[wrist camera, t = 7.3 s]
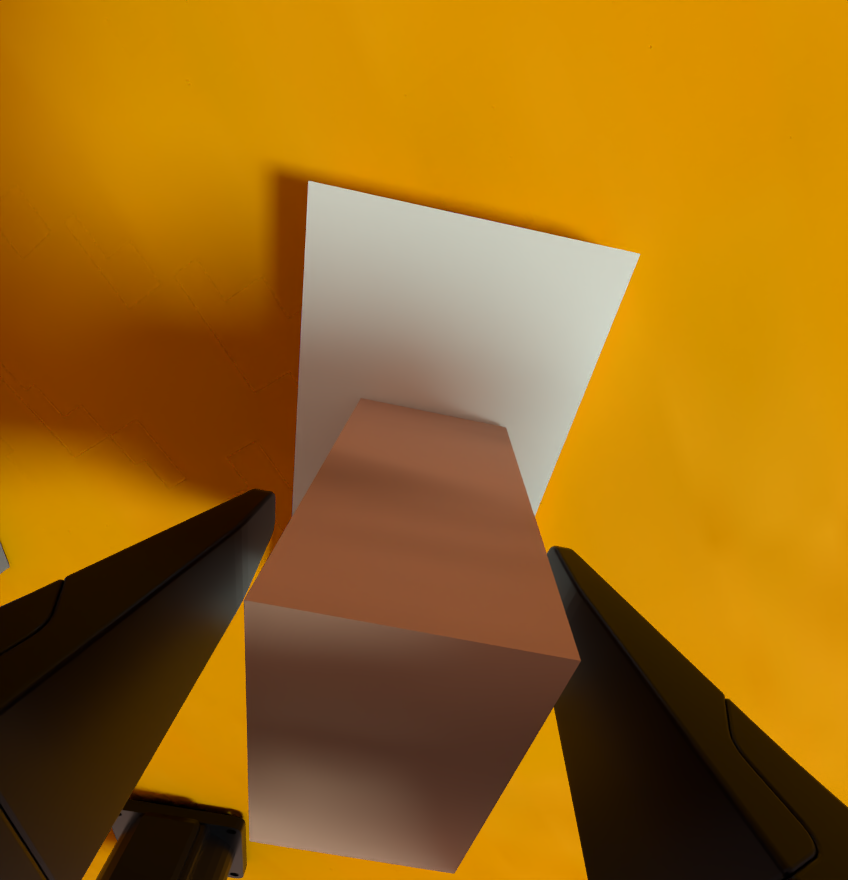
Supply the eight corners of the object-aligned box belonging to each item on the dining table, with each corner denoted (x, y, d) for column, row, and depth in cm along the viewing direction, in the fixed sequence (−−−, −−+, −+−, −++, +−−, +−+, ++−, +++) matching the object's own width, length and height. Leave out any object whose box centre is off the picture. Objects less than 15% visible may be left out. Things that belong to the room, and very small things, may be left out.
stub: (466, 652, 13) (480, 955, 7) (296, 621, 13) (180, 909, 7) (617, 253, 7) (1091, 269, 2) (325, 189, 7) (-62, 4, 2)
